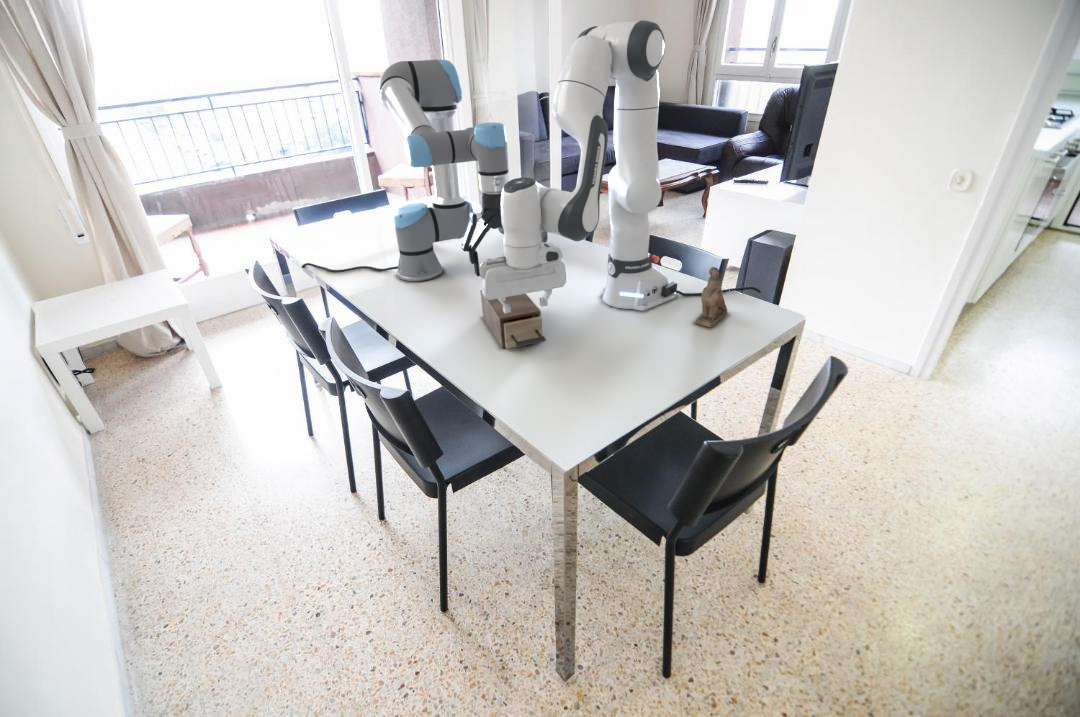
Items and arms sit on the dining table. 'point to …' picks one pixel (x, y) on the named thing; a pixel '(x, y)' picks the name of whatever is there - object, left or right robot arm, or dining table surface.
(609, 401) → the dining table surface
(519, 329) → the drawer
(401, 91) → the left robot arm
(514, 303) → the cabinet
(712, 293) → the worn brown figurine
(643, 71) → the right robot arm
